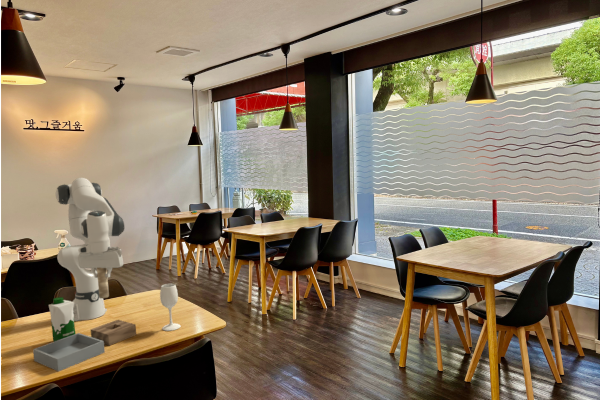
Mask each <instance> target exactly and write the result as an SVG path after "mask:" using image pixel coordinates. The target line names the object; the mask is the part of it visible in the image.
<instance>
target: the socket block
mask: <svg viewBox="0 0 600 400" xmlns="http://www.w3.org/2000/svg"><path fill="white" fill-rule="evenodd" d="M136 325H137V324H135V323H131V322H130V321H124V320H120V319H116V320H113V321H110V322H107V323H105V324H102V325H99V326H96V327H93V328H90V337H93V338H96V339H99V340H102V341H104V345H106V346H112V345H114V344H117V343H120V342H122V341H124V340H127V339H129V338H132V337H134V336H136V335H137V326H136Z"/></svg>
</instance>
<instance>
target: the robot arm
mask: <svg viewBox="0 0 600 400" xmlns="http://www.w3.org/2000/svg"><path fill="white" fill-rule="evenodd" d="M102 195H103V190H102V188H101V185H100V184H99V183H97V182H92V181H90V179H87V178H86V177H78V178H76V179H74V180H73V181H72V183H69V184H65V183H64V184H60V185H58V186H57V187H56V189H55V198H56V201H57V202H58V203H59V204H60V205H65V206H66V205H68V210H67V211H68V214H67V215H68V225H69V232H70V235H71V236H72V237H73V238H75V239H78V240H82V241H83V242H84V244H77V245H71V246H67V247H63V248H61V249H59V251H58V252H57V257H56V258H57V262H58V263H59V265H60V266H61V267H63V268H65V269H67V270H68V271H69V272H70V273H71V274H72V276H73V278H74V282H75V289H76V291H75V292H74V295H75V296H74V299H73V300H72V301H71V302H74V306H73V314H74V322H79V321H87V320H88V321H89V320H93V319H97V318H100V317H102V316H104V315H106V312H107V311H108V310H107V308H105V301H104V298H99V287H98V276H97V268H107V273H106V274H105V277H106V278H107V279H109V278H111V273H112V270H113V269H116V268H117V269H118V268H121V267H123V266H124V259H123V258H124V257H123V253H122V252H123V251H122V249H121V248H120V247H118V246H111V238H110V237H119V236H121V235H122V233H124V231H125V222H124V219H123V217H122V216H121V215H119V214H118V213H117V211H116V210H115V208H114V206H113V205H112V204H111V202H110V201H109V200H108V199H107V198H106V197H105V196H102Z"/></svg>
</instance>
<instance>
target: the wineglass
mask: <svg viewBox="0 0 600 400" xmlns="http://www.w3.org/2000/svg"><path fill="white" fill-rule="evenodd" d="M159 291H160V293H159V298H160V299H159V300H160V303H161V305H162V306H163V307H165V308H166V309H168V314H169V323H168V324H166V325H164V326H163V327H162V330H163V331H167V332H169V331H172V332H173V331H175V330H178V329H180V328H181V326H182V325H180V323H175V322H173V317H172V309H173V308H174V307H175V306H176V304H177V303H178V299H179V294H178V289H177V286H176V283H165V284H162V285H161V287H160V290H159Z"/></svg>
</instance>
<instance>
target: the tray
mask: <svg viewBox="0 0 600 400" xmlns="http://www.w3.org/2000/svg"><path fill="white" fill-rule="evenodd" d="M32 352H33V361H34V362H36V363H39V364H41V365H43V366H45V367H47V368H50V369H53V370H54V371H56V372H61V371H63V369H64V370H66V369H68V368H70V366H71V367H73V366H75V364H76V365H78V364H81V363H83V362H85V361H87V359H88V360H90V359H92V358H94V357H95V358H96V357H97V356H99V355H101V354H104V353H105V344H104V341H102V340H99V339H96V338H93V337H91V335H90V336H89V335H86V334H82V333H81V332H80V333H79V332H78V333H76V334H74V335H72V336H69V337H66V338H63V339H60V340H58V341H55V342H53V341H52V342H50V343H46V344H44V345H41V346H39V347H35V348H33V350H32Z"/></svg>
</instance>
